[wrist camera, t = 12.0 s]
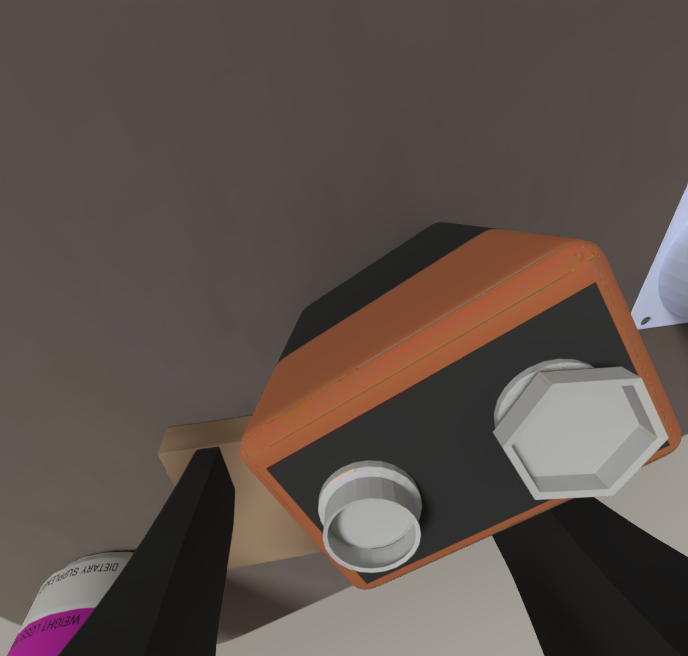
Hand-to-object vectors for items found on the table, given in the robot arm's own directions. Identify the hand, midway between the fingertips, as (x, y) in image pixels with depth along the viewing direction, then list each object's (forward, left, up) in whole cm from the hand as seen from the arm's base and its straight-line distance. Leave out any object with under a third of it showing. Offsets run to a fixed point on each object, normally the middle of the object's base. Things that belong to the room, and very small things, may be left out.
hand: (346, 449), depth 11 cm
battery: (-3, -1, -6) cm, 6 cm away
